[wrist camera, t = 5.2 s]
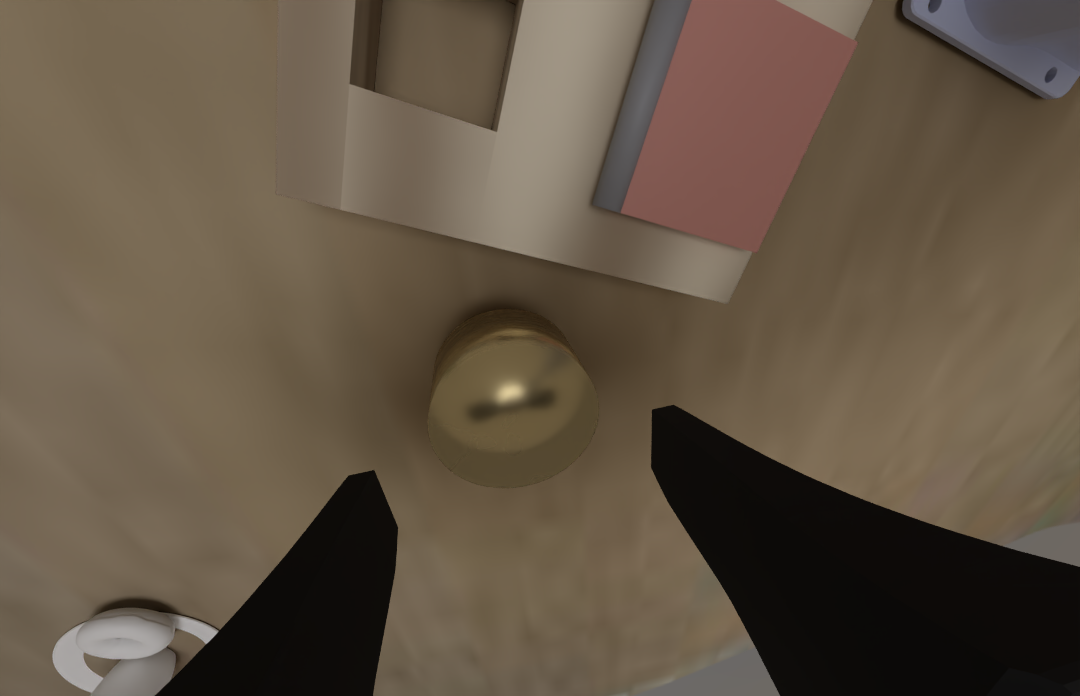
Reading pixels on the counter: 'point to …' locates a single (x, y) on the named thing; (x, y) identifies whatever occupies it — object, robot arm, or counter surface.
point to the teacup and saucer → (125, 650)
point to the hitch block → (493, 139)
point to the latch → (720, 115)
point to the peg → (509, 400)
